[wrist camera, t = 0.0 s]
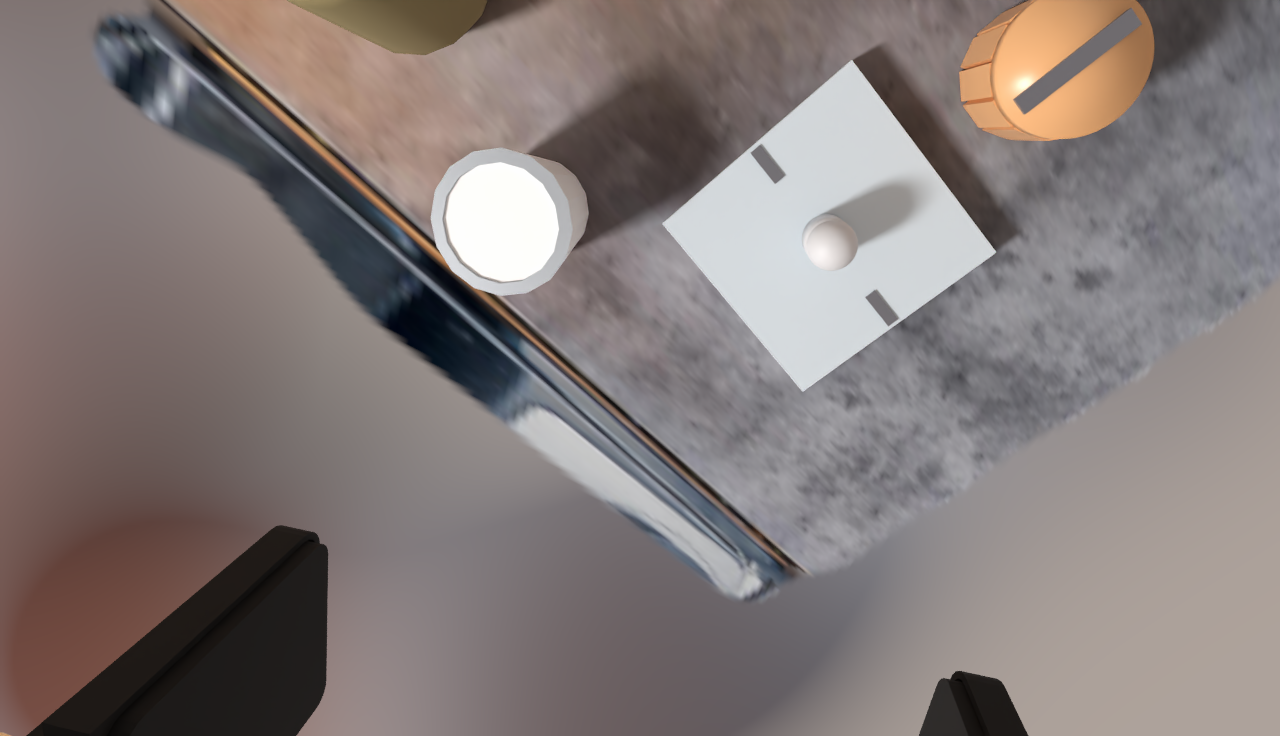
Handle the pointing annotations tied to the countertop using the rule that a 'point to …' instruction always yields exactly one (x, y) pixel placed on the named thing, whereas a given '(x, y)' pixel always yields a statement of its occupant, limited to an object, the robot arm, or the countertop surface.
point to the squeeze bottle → (401, 21)
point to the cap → (1057, 68)
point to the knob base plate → (829, 229)
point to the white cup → (507, 219)
